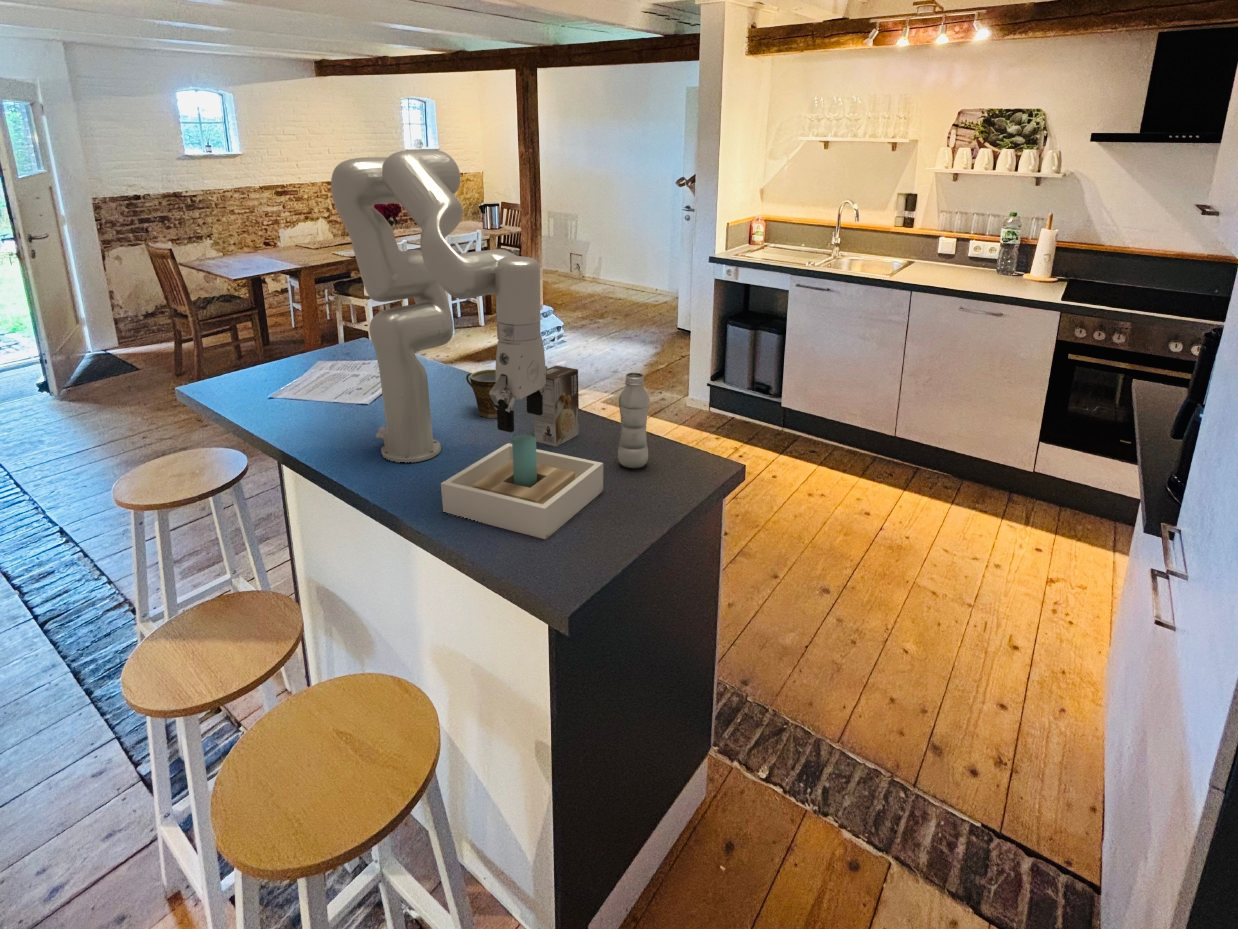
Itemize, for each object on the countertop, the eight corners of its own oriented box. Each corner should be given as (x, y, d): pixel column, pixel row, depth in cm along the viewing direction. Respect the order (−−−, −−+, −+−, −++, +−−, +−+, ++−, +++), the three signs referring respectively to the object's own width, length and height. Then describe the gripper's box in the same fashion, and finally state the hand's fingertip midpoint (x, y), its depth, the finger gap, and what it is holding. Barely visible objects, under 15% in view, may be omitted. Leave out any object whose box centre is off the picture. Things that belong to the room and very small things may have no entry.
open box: (443, 512, 141) (440, 483, 139) (509, 469, 159) (507, 443, 157) (545, 539, 132) (545, 508, 130) (603, 490, 151) (603, 463, 148)
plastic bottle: (626, 474, 158) (628, 381, 150) (612, 462, 164) (613, 372, 156) (653, 468, 161) (657, 377, 153) (638, 457, 166) (640, 368, 158)
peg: (509, 499, 145) (507, 441, 140) (522, 490, 148) (520, 433, 143) (529, 504, 143) (527, 445, 138) (541, 495, 147) (540, 437, 142)
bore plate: (473, 504, 142) (472, 485, 141) (514, 477, 154) (513, 458, 152) (537, 520, 137) (537, 500, 135) (575, 490, 149) (575, 472, 147)
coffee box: (557, 429, 181) (556, 364, 174) (579, 435, 178) (579, 368, 171) (533, 441, 174) (531, 373, 167) (556, 447, 171) (555, 378, 164)
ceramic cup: (520, 412, 192) (519, 373, 188) (494, 423, 184) (492, 384, 180) (481, 402, 198) (479, 365, 194) (454, 413, 190) (451, 374, 186)
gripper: (509, 345, 124) (512, 442, 131) (562, 323, 138) (562, 411, 145) (471, 338, 127) (476, 433, 134) (527, 317, 141) (528, 404, 148)
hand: (520, 421), depth 140 cm, fingers open, 9 cm apart
